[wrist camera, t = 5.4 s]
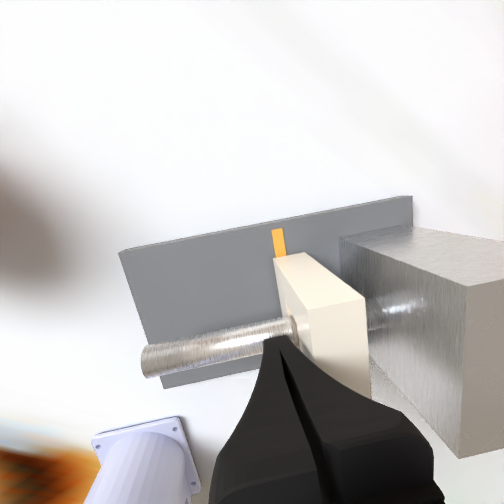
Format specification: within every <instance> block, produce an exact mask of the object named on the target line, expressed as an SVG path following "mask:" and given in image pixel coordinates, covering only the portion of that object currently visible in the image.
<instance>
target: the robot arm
mask: <svg viewBox="0 0 504 504" xmlns="http://www.w3.org/2000/svg"><path fill="white" fill-rule="evenodd" d="M91 444H92V446H93V448H94V451H95V453H96V455H97V457H98V459H99V461H100V463H101V468H100V470H99V472H98V474H97V477H96V479H95V481H94V483H93V485H92V487H91V489H90V491H89V493H88V495H87V497H86V499H85V501H84V503H83V504H190V502H191V495H194V494H198V493H200V492H201V487H202V486H201V482H200V479H199V476H198V473H197V470H196V467H195V464H194V461H193V458H192V455H191V452H190V449H189V446H188V443H187V440H186V437H185V434H184V431H183V428H182V425H181V422H180V419H179V418H177V417H172V418H168V419H163V420H159V421H155V422H150V423H146V424H141V425H137V426H132V427H128V428H123V429H119V430H114V431H110V432H105V433H101V434H97V435H94V436H93V438H92V440H91ZM433 472H434V456H433V449H432V447H431V446H430V444H429V442H428V441H427V440H426V439H425V437H424V436H423V435H422V434H421V432H420V431H419V430H418V429H417V428H416V427H415V426H414V424H413V423H412V422H411V421H410V420H409V419H408V418H407V417H406V416H405V415H404V414H403V413H402V412H400V411H398V410H395V409H393V408H390V407H388V406H385V405H383V404H380V403H378V402H375V401H373V400H371V399H369V398H367V397H365V396H363V395H361V394H359V393H357V392H355V391H353V390H351V389H350V388H348V387H346V386H344V385H343V384H341V383H340V382H338V381H337V380H335V379H334V378H332V377H331V376H329V375H328V374H327V373H325V372H324V371H323V370H321V369H320V368H319V367H318V366H316V365H315V364H314V363H313V362H312V361H311V360H309V359H308V358H307V357H306V356H305V355H304V354H303V353H302V352H301V351H300V350H299V349H298V348H297V347H296V346H295V345H294V343H293V342H292V341H291V340H290V339H289V337H288V336H286V335H282V336H278V337H273V338H268V339H264V341H263V355H262V361H261V366H260V370H259V374H258V378H257V381H256V384H255V387H254V390H253V393H252V395H251V398H250V400H249V403H248V405H247V407H246V409H245V411H244V413H243V415H242V417H241V419H240V421H239V423H238V424H237V426H236V428H235V430H234V432H233V433H232V435H231V436H230V438H229V439H228V441H227V442H226V444H225V445H224V447H223V448H222V450H221V451H220V453H219V454H218V456H217V459H216V463H215V467H214V471H213V476H212V481H211V487H210V493H209V504H445V502H444V501H443V500H444V499H445V497H444V495H443V493H442V491H441V490H440V488H439V487H438V486H437V484H436V483H435V481H434V480H433Z"/></svg>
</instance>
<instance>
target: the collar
mask: <svg viewBox="0 0 504 504" xmlns="http://www.w3.org/2000/svg"><path fill="white" fill-rule="evenodd" d="M273 262H274V268H275V274H276V280H277V286H278V292H279V298H280V304H281V310H282V316H288V315H293V317H294V319H295V321H296V324H297V330H298V337H299V344H300V346H296V347H297V348H298V349H299V350H300V351H301V352H302V353H303V354H304V355H305V356H306V357H307V358H308V359H309V360H311V361H312V362H313V363H314V364H315V365H316V366H318V367H319V368H320V369H321V370H323V371H324V372H325V373H327V374H328V375H329V376H331V377H332V378H334V379H335V380H337V381H338V382H340V383H341V384H343V385H344V386H346V387H348V388H350V389H351V390H353V391H355V392H357V393H359V394H361V395H363V396H365V397H367V398H369V399H371V400H372V396H371V381H370V366H369V351H368V336H367V322H366V307H365V298H364V297H363V296H362V295H361V294H359V293H358V292H357V291H355V290H354V289H353V288H351V287H350V286H349V285H347V284H346V283H345V282H343V281H342V280H341V279H339V278H338V277H337V276H335V275H334V274H333V273H332V272H330V271H329V270H328V269H326V268H325V267H324V266H322V265H321V264H320V263H318V262H317V261H316V260H314V259H313V258H312V257H310V256H309V255H308V254H306V253H305V252H302V253H297V254H292V255H287V256H282V257H277V258H273Z"/></svg>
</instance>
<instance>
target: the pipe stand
mask: <svg viewBox="0 0 504 504" xmlns="http://www.w3.org/2000/svg"><path fill="white" fill-rule="evenodd" d="M338 248H339V259H340V270H341V280H342V281H343V282H345V283H346V284H347V285H349V286H350V287H351V288H353V289H354V290H355V291H357V292H358V293H359V294H361V295H362V296H363V297H364V298H365V307H366V322H367V336H368V351H369V356H370V357H371V358H372V360H373V361H374V362H375V363H376V364H377V365H378V366H379V368H380V369H381V370H382V371H383V372H384V373H385V375H386V376H387V377H388V378H389V379H390V380H391V381H392V383H393V384H394V385H395V386H396V387H397V388H398V390H399V391H400V392H401V393H402V394H403V395H404V397H405V398H406V399H407V400H408V401H409V402H410V403H411V405H412V406H413V407H414V408H415V409H416V410H417V412H418V413H419V414H420V415H421V416H422V417H423V418H424V420H425V421H426V422H427V423H428V424H429V425H430V427H431V428H432V429H433V430H434V431H435V432H436V433H437V435H438V436H439V437H440V438H441V439H442V440H443V442H444V443H445V444H446V445H447V446H448V447H449V449H450V450H451V451H452V452H453V453H454V454H455V455H456V457H457V458H458V459H461V458H465V457H469V456H473V455H478V454H482V453H486V452H490V451H494V450H498V449H502V448H504V242H503V241H497V240H491V239H485V238H479V237H473V236H466V235H460V234H454V233H448V232H442V231H436V230H430V229H424V228H418V227H412V226H406V225H396V226H391V227H386V228H381V229H376V230H371V231H366V232H361V233H356V234H351V235H346V236H341V237H338ZM282 335H286V336H288V337H289V339H290V340H291V341H292V342H293V343H294V345H295V346H300V344H299V337H298V330H297V324H296V321H295V319H294V317H293V315H288V316H283V317H278V318H274V319H269V320H264V321H259V322H255V323H250V324H245V325H240V326H236V327H231V328H226V329H221V330H217V331H212V332H207V333H203V334H198V335H193V336H188V337H184V338H179V339H174V340H169V341H165V342H160V343H155V344H150V345H146V346H145V347H144V349H143V351H142V355H141V368H142V372H143V375H144V376H145V377H146V378H152V377H156V376H161V375H166V374H170V373H175V372H179V371H184V370H189V369H193V368H198V367H203V366H207V365H212V364H216V363H221V362H226V361H230V360H235V359H240V358H244V357H249V356H253V355H258V354H263V341H264V339H268V338H273V337H278V336H282Z"/></svg>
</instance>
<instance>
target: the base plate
mask: <svg viewBox="0 0 504 504" xmlns="http://www.w3.org/2000/svg"><path fill="white" fill-rule="evenodd" d="M396 225H406V226H412V227H413V206H412V196H398V197H393V198H388V199H383V200H378V201H372V202H367V203H362V204H357V205H352V206H347V207H341V208H336V209H331V210H326V211H321V212H316V213H310V214H305V215H300V216H295V217H290V218H285V219H280V220H274V221H269V222H264V223H259V224H254V225H249V226H243V227H238V228H233V229H228V230H223V231H218V232H212V233H207V234H202V235H197V236H192V237H187V238H181V239H176V240H171V241H166V242H161V243H156V244H151V245H145V246H140V247H135V248H130V249H125V250H123V251H121V252H119V253H118V254H119V257H120V260H121V263H122V266H123V269H124V272H125V275H126V278H127V281H128V284H129V287H130V290H131V293H132V296H133V299H134V302H135V305H136V308H137V311H138V314H139V317H140V320H141V323H142V326H143V329H144V331H145V334H146V337H147V340H148V343H149V345H150V344H155V343H160V342H165V341H169V340H174V339H179V338H184V337H188V336H193V335H198V334H203V333H207V332H212V331H217V330H221V329H226V328H231V327H236V326H240V325H245V324H250V323H255V322H259V321H264V320H269V319H274V318H278V317H283V316H282V310H281V304H280V298H279V292H278V286H277V280H276V274H275V268H274V262H273V258H277V257H282V256H287V255H292V254H297V253H302V252H305V253H306V254H308V255H309V256H310V257H312V258H313V259H314V260H316V261H317V262H318V263H320V264H321V265H322V266H324V267H325V268H326V269H328V270H329V271H330V272H332V273H333V274H334V275H335V276H337V277H338V278H339V279H341V270H340V259H339V248H338V237H341V236H346V235H351V234H356V233H361V232H366V231H371V230H376V229H381V228H386V227H391V226H396ZM262 355H263V354H258V355H253V356H249V357H244V358H240V359H235V360H230V361H226V362H221V363H216V364H212V365H207V366H203V367H198V368H193V369H189V370H184V371H179V372H175V373H170V374H166V375H161V376H160V379H161V382H162V385H163V388H164V389H168V388H172V387H177V386H181V385H186V384H190V383H195V382H200V381H204V380H209V379H213V378H218V377H222V376H227V375H231V374H236V373H241V372H245V371H250V370H254V369H259V368H260V366H261V361H262Z"/></svg>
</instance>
